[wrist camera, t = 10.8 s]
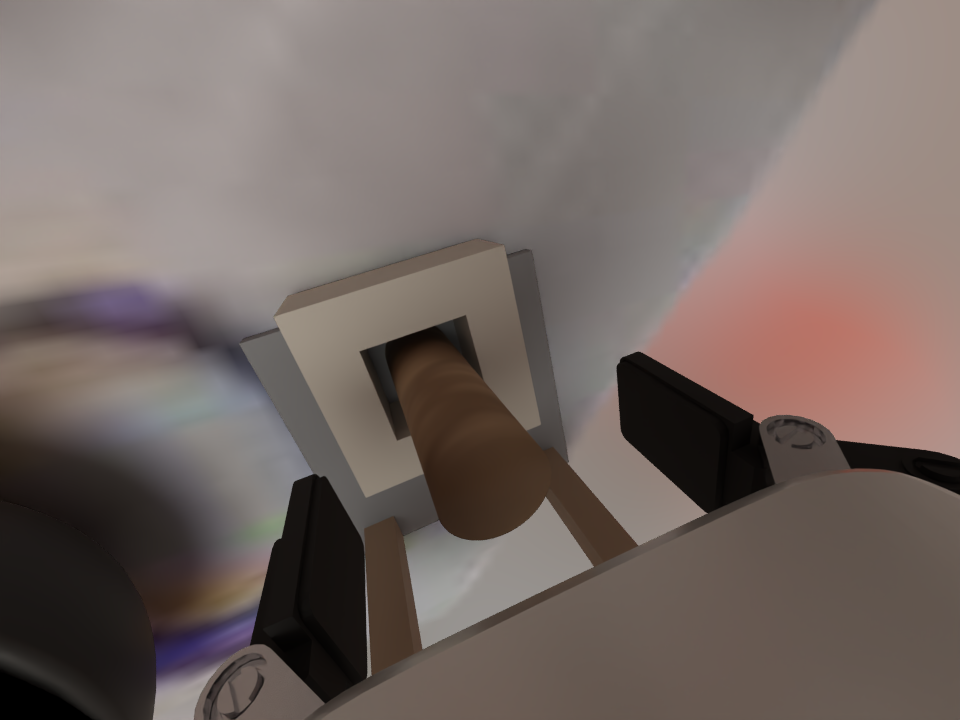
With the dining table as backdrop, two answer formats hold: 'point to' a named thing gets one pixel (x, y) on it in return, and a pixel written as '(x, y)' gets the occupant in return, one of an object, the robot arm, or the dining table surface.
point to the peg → (465, 439)
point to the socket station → (378, 413)
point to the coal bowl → (69, 626)
